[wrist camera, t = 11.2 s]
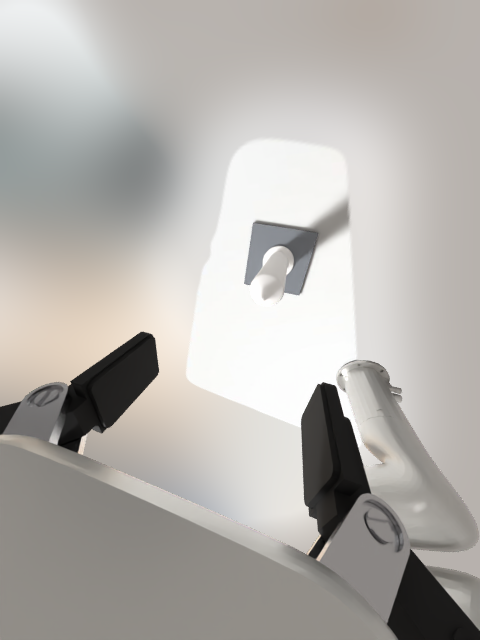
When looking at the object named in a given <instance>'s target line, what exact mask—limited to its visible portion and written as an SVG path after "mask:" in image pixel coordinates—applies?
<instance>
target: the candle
mask: <svg viewBox="0 0 480 640" xmlns="http://www.w3.org/2000/svg"><path fill="white" fill-rule="evenodd" d="M293 265H294V257H293V254H292V252H291V251H290V250H289V249H288V248H286V247H284V246H275V247H272V248H270V249H269V250H268V251H267V252H266V253H265V255H264V258H263V267H262V268H261V270H260V271H259V272H258V274H257V275H256V277H255V278H254V279H253V281H252V282H251V285H250V294H251V297H252V299H253V300H254V301H255V302H256V303H257V304H259V305H262V306H273V305H275V304H277V303H278V302H279V301H280V300H281V299H282V297H283V295H284V289H285V281H286V275H287V274H288V273H289V272H290V271H291V270H292V268H293Z"/></svg>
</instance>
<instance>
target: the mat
mask: <svg viewBox="0 0 480 640" xmlns="http://www.w3.org/2000/svg"><path fill="white" fill-rule="evenodd" d="M317 236H318V233H316V232H310V231H303V230H297V229H290V228H284V227H277V226H271V225H264V224H258V223H253V227H252V234H251V241H250V248H249V255H248V261H247V268H246V275H245V282H244V284H247V285H251V282H252V281H253V279H254V278H255V277H256V275H257V274H258V272H259V271H260V270H261V268H262V267H263V258H264V255H265V253H266V252H267V251H268V250H269V249H270V248H272V247H275V246H284V247H286V248H288V249H289V250H290V251H291V252H292V254H293V257H294V265H293V268H292V270H291V271H290V272H289V273H288V274H287V275H286V281H285V289H284V292H285V293H290V294H294V295H299V294H300V291H301V288H302V285H303V281H304V278H305V275H306V272H307V268H308V265H309V262H310V259H311V256H312V252H313V249H314V246H315V243H316V239H317Z"/></svg>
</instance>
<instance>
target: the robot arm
mask: <svg viewBox="0 0 480 640" xmlns="http://www.w3.org/2000/svg"><path fill="white" fill-rule="evenodd" d="M158 373H159V367H158V360H157V351H156V343H155V338H154V337H153V335H152V334H149V333H145V332H140V333H139V334H137V335H136V336H135V337H133V338H132V339H130V340H129V341H127V342H126V343H125V344H123V345H122V346H120V347H119V348H117V349H116V350H115V351H113V352H112V353H110V354H109V355H107V356H106V357H105V358H103V359H102V360H100V361H99V362H97V363H96V364H95V365H93V366H92V367H90V368H89V369H87V370H86V371H85V372H83V373H82V374H80V375H79V376H77V377H76V378H75V379H73V380H72V381H70V382H71V385H69V386H67V384H65V383H61V382H54V383H49V384H45V385H43V386H41V387H38V388H36V389H35V390H33V391H31V392H30V393H29V394H28V395H26V396H25V398H24V399H23V400H22V401H21V402H17V403H14V404H10V405H6V406H2V407H0V640H480V579H479V578H477V577H475V576H473V575H470V574H467V573H464V572H460V571H457V570H452V569H446V568H440V567H432V566H425V565H424V564H423V563H422V562H421V561H420V560H419V558H418V557H417V556H416V555H415V554H414V552H413V551H412V550H411V549H417V550H429V551H442V552H459V551H464V550H468V549H470V548H472V547H473V546H475V545H476V543H477V542H478V538H479V532H478V528H477V524H476V522H475V520H474V518H473V516H472V514H471V512H470V511H469V509H468V507H467V506H466V504H465V503H464V501H463V500H462V498H461V497H460V496H459V494H458V493H457V492H456V490H455V489H454V488H453V486H452V485H451V484H450V483H449V482H448V480H447V479H446V477H445V476H444V475H443V474H442V472H441V471H440V469H439V468H438V467H437V465H436V464H435V463H434V461H433V460H432V458H431V457H430V456H429V454H428V452H427V451H426V449H425V448H424V446H423V444H422V443H421V441H420V440H419V438H418V437H417V435H416V433H415V432H414V430H413V428H412V427H411V425H410V423H409V422H408V420H407V418H406V417H405V415H404V413H403V411H402V410H401V408H400V406H399V405H398V403H397V402H401V401H402V397H401V396H400V395H398V394H394V393H391V391H393V392H395V393H399V394H400V393H401V392H402V390H401V389H400V388H397V387H392V386H391V385H390V383H389V380H390V378H389V375H388V373H387V371H386V369H385V368H384V367H382V366H381V365H380V364H378V363H375V362H372V361H365V360H363V361H361V360H360V361H354V362H350V363H348V364H346V365H344V366H343V367H342V368H341V369H340V370H339V371H338V373H337V376H336V380H337V383H338V386H339V387H340V389H341V390H343V391H344V392H346V393H347V396H348V399H349V402H350V405H351V408H352V411H353V415H354V418H355V421H356V424H357V427H358V430H359V434H360V437H361V439H362V441H363V443H364V445H365V446H366V448H367V449H368V450H369V451H370V452H371V453H372V454H373V455H374V456H375V457H376V458H378V459H379V460H380V461H381V462H383V463H382V464H378V465H373V466H363V463H362V459H361V456H360V452H359V449H358V445H357V442H356V439H355V435H354V432H353V428H352V425H351V422H350V420H349V419H348V418H346V417H344V414H343V411H342V407H341V403H340V399H339V396H338V392H337V388H336V386H335V385H331V384H328V383H324V382H323V383H322V384H321V385H320V384H318V385H317V387H316V389H315V391H314V393H313V395H312V397H311V399H310V401H309V403H308V405H307V407H306V409H305V411H304V413H303V415H302V419H301V430H302V455H303V482H304V501H305V505H306V506H308V507H309V516H310V517H313V518H315V519H317V524H318V532H319V533H320V534H319V536H318V538H317V539H316V540H315V542H314V543H313V545H312V546H311V548H310V549H309V551H308V552H307V554H305V553H303V552H301V551H299V550H297V549H295V548H293V547H291V546H289V545H287V544H285V543H283V542H281V541H278V540H276V539H274V538H272V537H270V536H268V535H265V534H263V533H261V532H259V531H257V530H255V529H252V528H250V527H248V526H246V525H243V524H241V523H239V522H236V521H234V520H232V519H229V518H227V517H225V516H223V515H220V514H218V513H216V512H214V511H211V510H209V509H207V508H204V507H202V506H199V505H197V504H195V503H193V502H191V501H188V500H186V499H183V498H181V497H179V496H177V495H174V494H172V493H170V492H167V491H165V490H163V489H160V488H158V487H155V486H154V485H151V484H149V483H147V482H144V481H142V480H139V479H137V478H135V477H133V476H130V475H128V474H126V473H123V472H121V471H118V470H116V469H114V468H111V467H109V466H107V465H104V464H102V463H100V462H97V461H95V460H93V459H90V458H88V457H85V456H83V452H84V447H85V443H86V438H87V434H88V432H89V431H90V430H91V429H93V430H95V431H97V432H100V433H103V432H104V430H106V428H109V427H111V426H112V425H113V424H114V423H115V422H116V421H117V420H118V418H119V417H120V416H121V415H122V414H123V413H124V412H125V410H127V408H128V407H129V406H130V405H131V404H132V403H133V402H134V401H135V400H136V399H137V397H138V396H139V395H140V394H141V393H142V392H143V391H144V390H145V389H146V388H147V386H148V385H149V384H150V383H151V382H152V381H153V380H154V379H155V378H156V376H157V375H158Z"/></svg>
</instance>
